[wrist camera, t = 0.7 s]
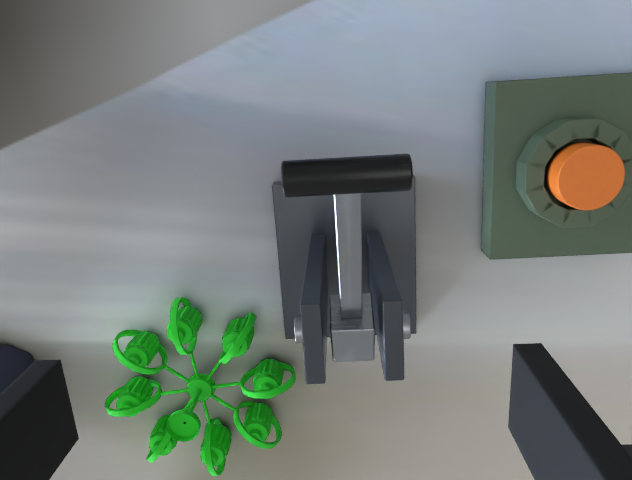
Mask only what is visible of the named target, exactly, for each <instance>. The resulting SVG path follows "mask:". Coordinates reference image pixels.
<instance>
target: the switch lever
mask: <svg viewBox="0 0 632 480" xmlns="http://www.w3.org/2000/svg"><path fill="white" fill-rule="evenodd" d="M281 180H282V190H283V194H284V197H304V196H322V195H333V198H334V214H335V231H336V247H337V263H338V280H339V294H331V295H330V296H329V297H330V333H331V345H332V356H333V361H334V362H342V361H368V360H374V346H375V327H374V317H373V307H372V297H371V293H362V223H361V193H377V192H395V191H409V190H411V188H412V181H413V171H412V161H411V157H410V155H409V154H394V155H377V156H360V157H342V158H325V159H308V160H291V161H283V162H282V165H281Z"/></svg>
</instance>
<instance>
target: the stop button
mask: <svg viewBox="0 0 632 480" xmlns="http://www.w3.org/2000/svg"><path fill="white" fill-rule="evenodd" d="M624 178H625V168H624V164H623V162H622V160H621V158H620V156H619V155H618V154H617V153H616V152H615V151H614V150H612V149H610V148H608V147H606V146H602V145H597V144H592V143H586V142H581V143H575V144H572V145H569V146H567V147H565V148H564V149H562V150H561V151H560V152H558V153H557V154H556V156H555V157H554V158H553V159H552V161H551V163H550V165H549V168H548V171H547V184H548V187H549V190H550V192H551V193H552V195H553V196H554V197H555V198H556V199H558V200H559V201H561V202H563V203H565V204H567V205H569V206H571V207H573V208H576V209H579V210H594V209H598V208H600V207H603V206H605V205H606V204H608V203H609V202H611V201H612V200H613V199H614V198H615V197H616V196H617V194H618V193H619V191H620V190H621V188H622V186H623V183H624Z"/></svg>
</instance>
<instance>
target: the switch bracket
mask: <svg viewBox="0 0 632 480" xmlns="http://www.w3.org/2000/svg"><path fill="white" fill-rule="evenodd" d="M272 189H273V201H274V212H275V224H276V235H277V247H278V258H279V270H280V281H281V293H282V304H283V316H284V327H285V338H286V339H295V342H296V343H303V352H304V365H305V378H306V384H321V383H325V381H326V346H327V337H331V333H330V297H329V296H330V295H331V294H339V280H338V263H337V247H336V231H335V214H334V198H333V195H322V196H304V197H284V194H283V190H282V182H274V183H273V185H272ZM361 223H362V293H371V297H372V307H373V317H374V327H375V335H377V339H378V345H379V351H380V356H381V362H382V368H383V373H384V379H385V380H386V381H393V380H404V339H409V338H410V336H411V334H416V236H415V177H414V176H413V181H412V188H411V190H409V191H395V192H377V193H361Z"/></svg>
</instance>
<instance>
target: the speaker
mask: <svg viewBox="0 0 632 480" xmlns="http://www.w3.org/2000/svg"><path fill="white" fill-rule="evenodd" d="M33 362H34V359H33V358H32V356H31V355H30V354H29V353H27V352H24V351H22V350H19V349H16V348H14V347H11V346H9V345H0V393H1V392H2V391H3V390H4V389H5V388H7V387H8V386H9V385H10V384H11V383H12V382H13V381H14V380H15V379H16V378H17V377H18V376H19V375H21V374H22V373H23V372H24V371H25V370H26V369H27V368H28V367H29V366H30V365H31V364H32V363H33Z"/></svg>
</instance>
